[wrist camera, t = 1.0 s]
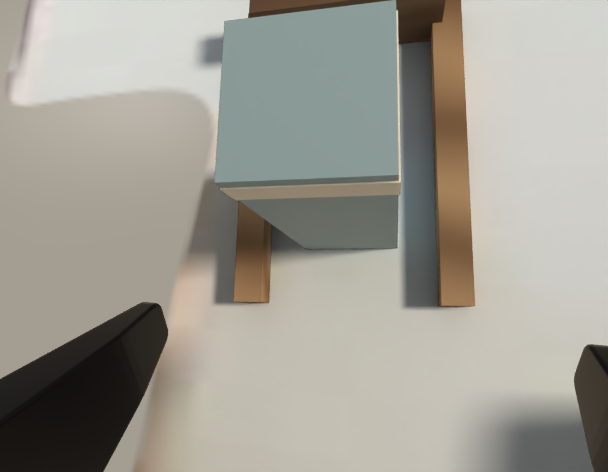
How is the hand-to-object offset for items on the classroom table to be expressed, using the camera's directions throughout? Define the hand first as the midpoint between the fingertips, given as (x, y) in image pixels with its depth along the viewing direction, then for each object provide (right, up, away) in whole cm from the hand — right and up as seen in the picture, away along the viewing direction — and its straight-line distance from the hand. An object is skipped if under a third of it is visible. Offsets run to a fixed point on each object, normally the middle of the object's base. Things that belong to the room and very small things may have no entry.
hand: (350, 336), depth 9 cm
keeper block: (+2, +4, +15) cm, 15 cm away
